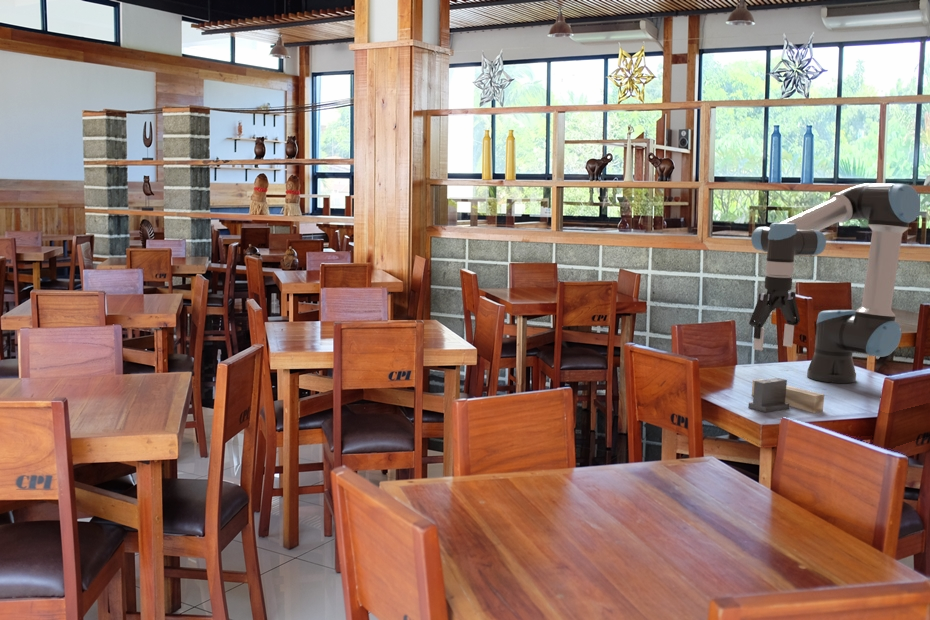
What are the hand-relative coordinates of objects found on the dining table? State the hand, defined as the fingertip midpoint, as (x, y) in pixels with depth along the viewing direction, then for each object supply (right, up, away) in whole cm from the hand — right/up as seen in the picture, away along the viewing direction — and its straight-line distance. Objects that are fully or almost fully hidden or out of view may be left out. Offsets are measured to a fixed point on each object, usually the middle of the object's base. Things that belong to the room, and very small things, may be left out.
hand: (773, 348), depth 267 cm
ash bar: (+3, -16, -2) cm, 17 cm away
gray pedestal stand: (-4, -17, -9) cm, 20 cm away
